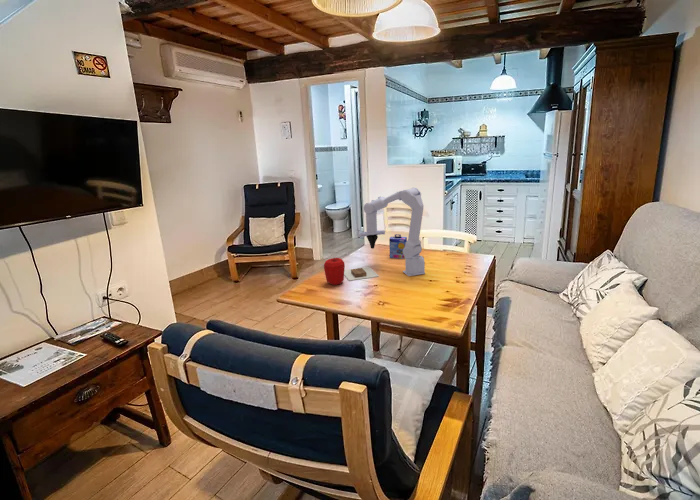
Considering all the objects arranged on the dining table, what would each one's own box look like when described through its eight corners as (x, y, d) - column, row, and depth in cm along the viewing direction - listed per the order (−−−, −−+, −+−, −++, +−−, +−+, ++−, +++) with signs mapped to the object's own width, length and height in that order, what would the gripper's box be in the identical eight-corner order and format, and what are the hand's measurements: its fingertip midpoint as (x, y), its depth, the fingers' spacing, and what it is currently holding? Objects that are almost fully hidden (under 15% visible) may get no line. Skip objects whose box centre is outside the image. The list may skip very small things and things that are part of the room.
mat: (369, 267, 214) (369, 266, 214) (378, 276, 199) (378, 275, 199) (341, 271, 210) (341, 270, 210) (349, 281, 195) (349, 280, 195)
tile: (361, 267, 206) (351, 269, 204) (366, 272, 198) (355, 274, 197) (361, 271, 206) (351, 273, 205) (366, 276, 199) (355, 277, 198)
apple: (331, 278, 200) (329, 253, 196) (349, 280, 195) (347, 255, 191) (321, 285, 191) (319, 259, 187) (339, 288, 186) (337, 261, 182)
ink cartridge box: (389, 258, 228) (388, 234, 224) (390, 255, 233) (390, 232, 229) (406, 259, 225) (405, 235, 221) (407, 256, 230) (406, 232, 226)
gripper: (381, 221, 215) (382, 244, 219) (356, 224, 212) (357, 247, 215) (386, 223, 209) (386, 247, 212) (360, 226, 205) (361, 251, 209)
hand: (372, 248), depth 213 cm, fingers closed
